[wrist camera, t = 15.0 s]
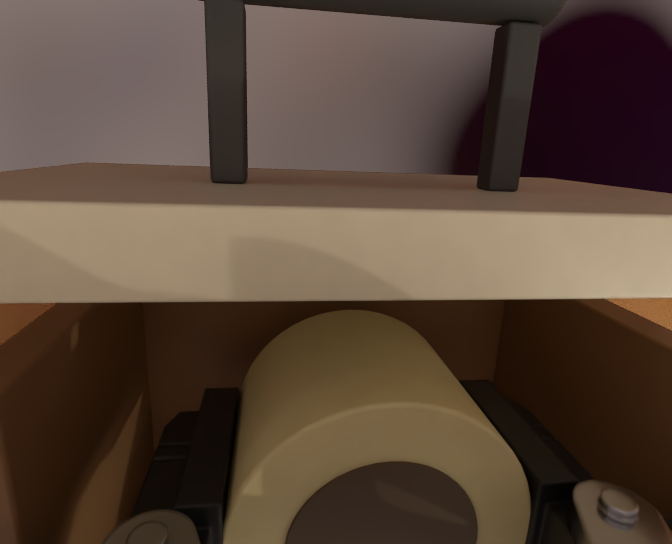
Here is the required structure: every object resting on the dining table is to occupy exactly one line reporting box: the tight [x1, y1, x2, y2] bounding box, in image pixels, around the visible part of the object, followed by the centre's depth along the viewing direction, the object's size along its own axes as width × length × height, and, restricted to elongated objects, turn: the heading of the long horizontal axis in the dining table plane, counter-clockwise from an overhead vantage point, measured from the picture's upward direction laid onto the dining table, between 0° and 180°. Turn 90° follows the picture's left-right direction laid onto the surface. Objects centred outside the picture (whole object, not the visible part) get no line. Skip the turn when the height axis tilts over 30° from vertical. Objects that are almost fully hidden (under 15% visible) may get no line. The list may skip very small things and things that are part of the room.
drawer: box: [0, 0, 672, 544], centre depth 11 cm, size 19×13×8 cm
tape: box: [223, 310, 531, 544], centre depth 9 cm, size 5×5×4 cm
